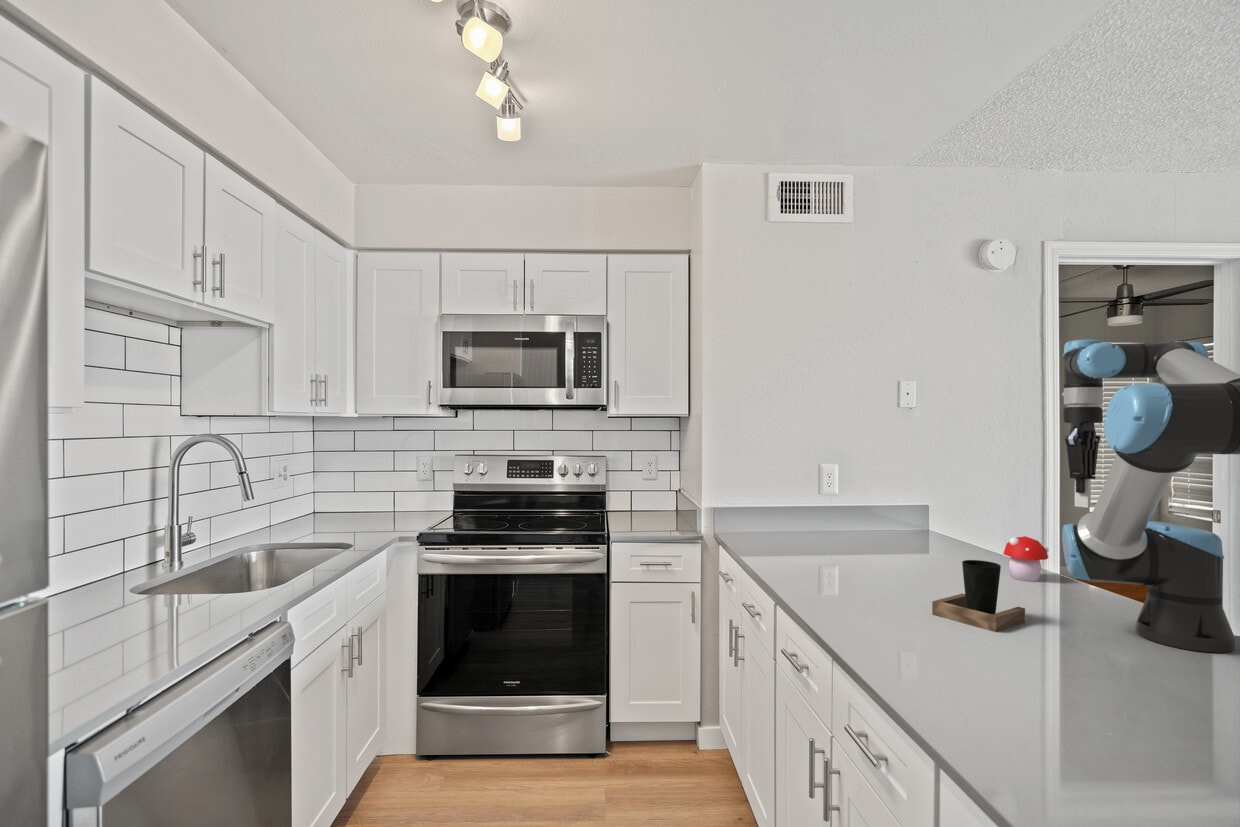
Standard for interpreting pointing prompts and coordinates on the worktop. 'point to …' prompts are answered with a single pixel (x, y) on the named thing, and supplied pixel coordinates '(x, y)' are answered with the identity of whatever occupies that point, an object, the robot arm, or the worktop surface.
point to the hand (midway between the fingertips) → (1082, 506)
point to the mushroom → (1025, 558)
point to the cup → (981, 585)
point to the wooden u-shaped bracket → (976, 614)
